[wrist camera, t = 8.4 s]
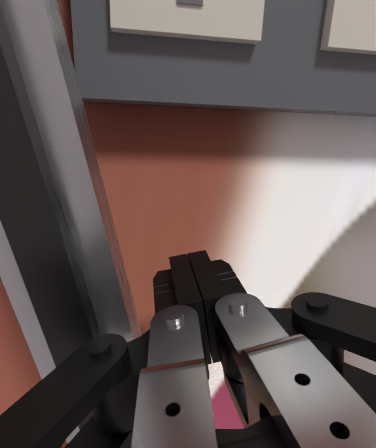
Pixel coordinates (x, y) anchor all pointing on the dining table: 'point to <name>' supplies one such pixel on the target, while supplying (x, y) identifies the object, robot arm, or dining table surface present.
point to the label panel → (228, 54)
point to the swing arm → (53, 197)
